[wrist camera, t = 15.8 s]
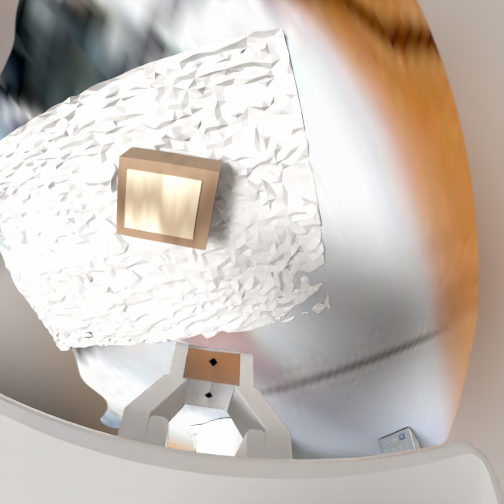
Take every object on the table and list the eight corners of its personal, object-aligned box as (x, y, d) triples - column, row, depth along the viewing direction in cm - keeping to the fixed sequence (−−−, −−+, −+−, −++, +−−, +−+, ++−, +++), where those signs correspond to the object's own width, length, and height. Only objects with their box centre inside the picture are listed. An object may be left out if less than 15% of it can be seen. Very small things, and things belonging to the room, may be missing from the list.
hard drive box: (377, 438, 58) (393, 515, 41) (408, 425, 56) (429, 502, 39) (392, 452, 65) (406, 516, 48) (419, 441, 63) (436, 505, 46)
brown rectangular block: (205, 251, 27) (115, 234, 26) (209, 233, 30) (127, 218, 29) (219, 172, 23) (118, 156, 22) (222, 161, 26) (131, 146, 25)
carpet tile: (281, 29, 22) (284, 25, 20) (330, 307, 37) (333, 319, 36) (-35, 166, 26) (-45, 172, 24) (65, 344, 42) (60, 354, 40)
